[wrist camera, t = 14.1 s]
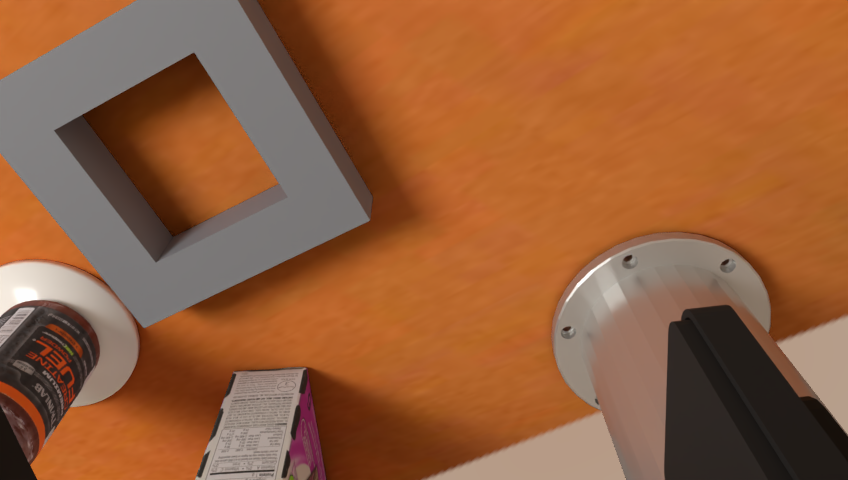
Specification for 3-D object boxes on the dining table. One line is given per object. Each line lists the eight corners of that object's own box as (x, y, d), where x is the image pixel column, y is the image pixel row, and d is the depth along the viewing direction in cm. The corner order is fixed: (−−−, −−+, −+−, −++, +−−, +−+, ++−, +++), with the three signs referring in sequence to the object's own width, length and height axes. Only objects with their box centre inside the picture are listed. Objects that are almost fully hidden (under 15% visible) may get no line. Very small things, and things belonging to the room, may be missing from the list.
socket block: (373, 197, 39) (370, 220, 37) (161, 299, 42) (143, 328, 39) (227, -50, 34) (211, -44, 31) (-7, 87, 36) (-41, 103, 34)
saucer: (173, 362, 44) (170, 368, 43) (43, 422, 46) (39, 429, 45) (65, 231, 40) (61, 235, 39) (-72, 303, 42) (-79, 308, 41)
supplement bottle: (125, 354, 43) (36, 500, 33) (48, 394, 44) (-61, 547, 34) (56, 277, 40) (-63, 409, 30) (-24, 322, 42) (-164, 463, 32)
